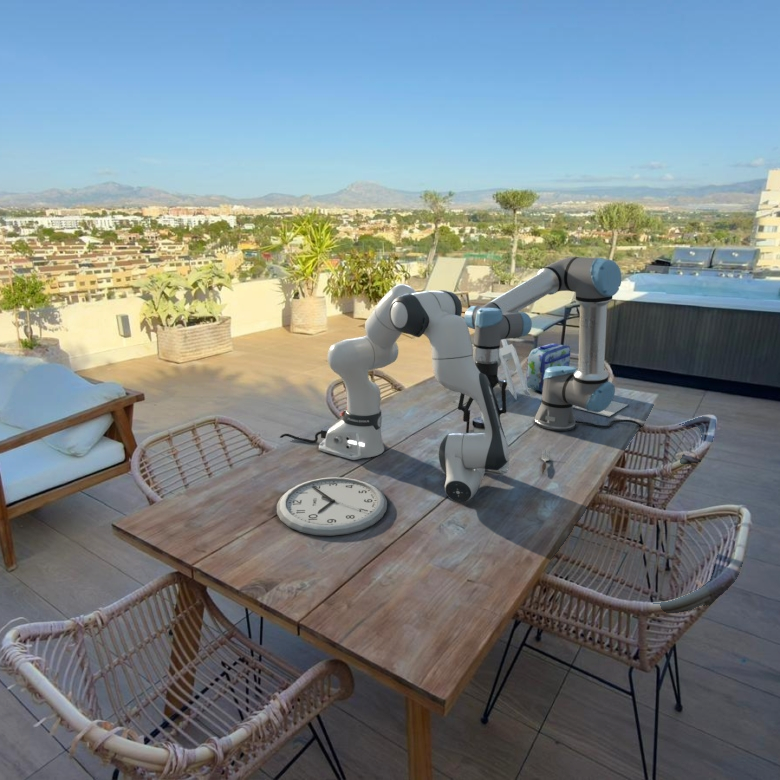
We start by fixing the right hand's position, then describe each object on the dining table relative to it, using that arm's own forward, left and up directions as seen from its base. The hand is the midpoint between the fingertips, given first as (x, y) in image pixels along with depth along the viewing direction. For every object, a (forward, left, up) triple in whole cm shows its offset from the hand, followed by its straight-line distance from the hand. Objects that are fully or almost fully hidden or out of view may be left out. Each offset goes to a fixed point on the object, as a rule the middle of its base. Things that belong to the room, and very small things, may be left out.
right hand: (480, 432), depth 162 cm
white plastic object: (-4, -82, -12) cm, 83 cm away
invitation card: (-56, -70, -12) cm, 90 cm away
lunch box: (-37, -95, -12) cm, 103 cm away
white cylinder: (0, 0, -12) cm, 12 cm away
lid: (0, 0, +4) cm, 4 cm away
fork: (-22, -6, -12) cm, 26 cm away
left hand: (0, -1, -6) cm, 6 cm away
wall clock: (+40, +29, -12) cm, 51 cm away
